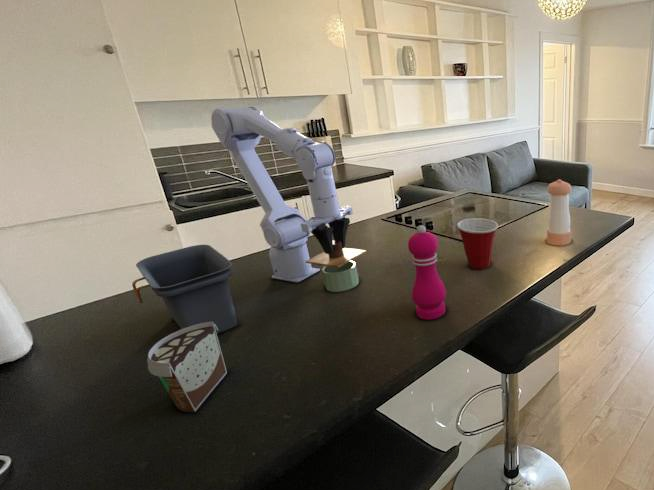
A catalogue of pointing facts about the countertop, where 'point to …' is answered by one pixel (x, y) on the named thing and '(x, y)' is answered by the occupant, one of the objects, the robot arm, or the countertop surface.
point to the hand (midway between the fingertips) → (335, 250)
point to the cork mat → (336, 261)
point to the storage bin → (191, 285)
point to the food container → (188, 364)
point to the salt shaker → (559, 213)
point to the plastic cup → (478, 240)
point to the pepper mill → (426, 275)
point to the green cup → (340, 277)
